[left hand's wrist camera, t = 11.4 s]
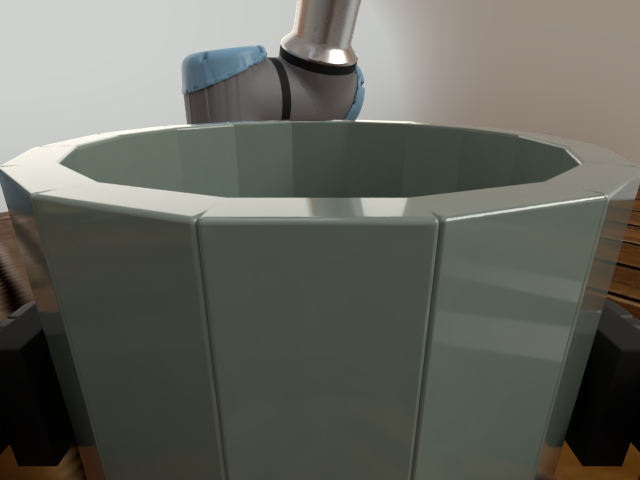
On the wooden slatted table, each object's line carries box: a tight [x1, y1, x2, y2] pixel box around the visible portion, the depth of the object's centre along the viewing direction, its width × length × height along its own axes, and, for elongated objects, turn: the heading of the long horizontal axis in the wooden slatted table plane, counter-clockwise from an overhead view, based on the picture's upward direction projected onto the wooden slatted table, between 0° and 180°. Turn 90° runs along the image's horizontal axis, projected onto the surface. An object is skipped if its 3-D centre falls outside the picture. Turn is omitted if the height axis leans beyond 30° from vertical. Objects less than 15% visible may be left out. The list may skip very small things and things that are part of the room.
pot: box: [0, 120, 640, 480], centre depth 10 cm, size 10×10×11 cm
